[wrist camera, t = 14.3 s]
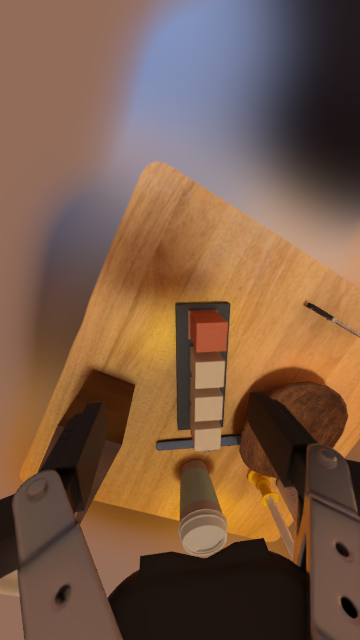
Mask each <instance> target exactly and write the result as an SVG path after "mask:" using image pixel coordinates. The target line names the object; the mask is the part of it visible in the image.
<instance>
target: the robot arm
mask: <svg viewBox="0 0 360 640" xmlns="http://www.w3.org/2000/svg"><path fill="white" fill-rule="evenodd" d="M247 418H248V423H249V425H250V427H251V429H252V431H253V433H254V434H255V436H256V438H257V440H258V441H259V443H260V445H261V447H262V449H263V450H264V452H265V454H266V456H267V457H268V459H269V461H270V463H271V465H272V466H273V468H274V470H275V472H276V473H277V475H278V477H279V479H280V481H281V482H282V484H283V486H284V488H287V487H295V489H296V490H297V492H298V493H297V499H296V521H295V542H294V553H293V560H292V561H290V560H289V559H287V558H285V557H283V556H281V555H279V554H277V553H274V552H271V551H268V549H267V546H266V543H265V540H264V538H261V539H254V540H248V541H240V542H235V543H233V544H231V545H230V546H227V547H226V548H224V549H222V550H221V551H219V552H217V553H215V554H214V555H212V556H210V557H208V558H199V557H195V556H190V555H186V554H181V553H176V552H167V553H159V554H153V555H145V556H140V570H138V571H136V572H134V573H133V574H131V575H130V576H129V577H127V578H126V579H125V580H124V581H123V582H121V584H119V585H118V586H117V587H116V589H115V590H114V591H113V592H112V593H111V594H110V596H109V597H108V598H107V596H106V593H105V590H104V588H103V585H102V582H101V580H100V577H99V574H98V572H97V569H96V566H95V564H94V561H93V558H92V556H91V553H90V550H89V548H88V545H87V542H86V540H85V537H84V534H83V532H82V529H81V527H80V524H79V522H78V520H77V521H76V519H75V516H74V515H75V512H82V511H85V508H86V505H87V502H88V498H89V495H90V491H91V488H92V485H93V481H94V478H95V474H96V471H97V467H98V464H99V461H100V457H101V454H102V450H103V447H104V444H105V440H106V436H107V419H106V411H105V404H104V401H98V402H88V403H87V405H86V407H85V409H84V411H83V413H77V414H75V415H74V416H73V417H72V418H71V419H70V420H69V421H68V422H67V424H66V426H65V428H64V429H63V432H62V433H61V435H60V436H59V438H58V440H57V442H56V443H55V445H54V447H53V449H52V451H51V452H50V454H49V456H48V458H47V459H46V461H45V463H44V465H43V466H42V468H41V470H40V472H39V473H37V474H35V475H33V476H32V477H30V478H29V479H28V480H26V481H25V482H24V483H23V484H22V485H21V486H20V487H19V489H18V490H17V491H16V493H15V494H13V495H11V496H8V497H6V498H3V499H1V500H0V578H2V577H4V576H6V575H8V574H10V573H12V572H14V571H16V570H17V576H18V586H19V595H20V604H21V613H22V621H23V630H24V638H25V640H360V462H356V461H351V460H346V459H345V458H344V457H343V456H342V455H341V454H340V453H338V452H337V451H336V450H334V449H333V448H331V447H329V446H326V445H323V444H319V443H318V442H317V441H316V440H315V439H314V438H313V437H312V436H311V434H310V433H309V432H308V431H307V430H306V429H305V428H304V427H303V425H302V424H301V423H300V422H299V421H298V420H297V419H296V418H295V416H294V415H293V414H291V412H290V411H289V410H288V409H287V407H286V406H285V405H284V404H282V403H281V402H279V401H277V400H276V399H272V398H271V397H270V396H269V395H268V394H267V392H266V391H264V390H261V391H251V392H250V394H249V402H248V411H247Z"/></svg>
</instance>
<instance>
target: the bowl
mask: <svg viewBox="0 0 360 640" xmlns="http://www.w3.org/2000/svg"><path fill="white" fill-rule="evenodd" d="M268 395H269V396H270V397H271V398H272V399H276V400H277V401H279V402H281V403H282V404H284V405H285V406H286V407H287V409H288V410H289V411H290V412H291V414H293V415H294V416H295V418H296V419H297V420H298V421H299V422H300V423H301V424H302V425H303V427H304V428H305V429H306V430H307V431H308V432H309V433H310V434H311V436H312V437H313V438H314V439H315V440H316V441H317V442H318V443H319V444H323V445H326V446H329V447H331V448H333V447H334V446H335V444H336V443H337V441H338V440H339V438H340V437H341V435H342V433H343V430H344V427H345V424H346V421H347V418H348V414H347V408H346V404H345V402H344V400H343V399H342V397H341V396H340V394H338V393H337V392H335V391H334V390H332V389H331V388H329V387H328V386H324V385H320V384H317V383H313V382H297V383H289V384H285V385H283V386H281V387H278V388H276V389H274V390H273V391H271V392H270V393H269V394H268ZM240 454H241V457H242V459H243V462H244V463H245V464H246V465H247V466H248V467H249V468H250V470H252V471H254V472H256V473H259V474H261V475H263V476H268V477H274V478H279V477H278V475H277V473H276V472H275V470H274V468H273V466H272V465H271V463H270V461H269V459H268V457H267V456H266V454H265V452H264V450H263V449H262V447H261V445H260V443H259V441H258V440H257V438H256V436H255V434H254V433H253V431H252V429H251V427H250V425H249V423H248V418H247V419H246V421H245V424H244V426H243V428H242V435H241V443H240Z"/></svg>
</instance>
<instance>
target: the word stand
mask: <svg viewBox="0 0 360 640" xmlns="http://www.w3.org/2000/svg"><path fill="white" fill-rule="evenodd" d="M134 388H135V385H133V384H130V383H128V382H125V381H123V380H120V379H117V378H115V377H112V376H109V375H107V374H104V373H101V372H99V371H96V370H93V371H92V373H91V375H90V376H89V378H88V379H87V381H86V382H85V384H84V385H83V387H82V389H81V390H80V392H79V393H78V395H77V396H76V398H75V399H74V401H73V403H72V404H71V406H70V407H69V409H68V410H67V412H66V413H65V415H64V417H63V418H62V420H61V421H60V423H59V424H58V426H57V428H56V431H55V433H54V435H53V438H52V440H51V442H50V445H49V447H48V449H47V452H46V454H45V456H44V459H43V461H42V463H41V466H40V468H39V470H38V473H39V472H40V470H41V468H42V466H43V465H44V463H45V461H46V459H47V458H48V456H49V454H50V452H51V451H52V449H53V447H54V445H55V443H56V442H57V440H58V438H59V436H60V435H61V433H62V432H63V429H64V428H65V426H66V424H67V422H68V421H69V420H70V419H71V418H72V417H73V416H74V415H75V414H77V413H83V411H84V409H85V407H86V405H87V403H88V402H98V401H104V404H105V411H106V419H107V436H106V440H105V444H104V447H103V450H102V454H101V457H100V461H99V464H98V467H97V471H96V474H95V478H94V481H93V485H92V488H91V491H90V495H89V498H88V502H87V505H86V508H85V511H82V512H75V515H74V516H75V519H76V521H77V520H78V522H79V524H80V523H81V521H82V519H83V517H84V516H85V514H86V512H87V510H88V508H89V506H90V504H91V502H92V501H93V499H94V497H95V495H96V493H97V491H98V489H99V487H100V485H101V484H102V482H103V480H104V478H105V476H106V474H107V472H108V470H109V468H110V467H111V465H112V463H113V461H114V459H115V457H116V455H117V453H118V451H119V450H120V448H121V446H122V442H123V438H124V433H125V429H126V424H127V420H128V415H129V411H130V406H131V402H132V397H133V393H134ZM0 594H6V595H12V596H19V597H20V595H19V586H18V576H17V570H16V571H14V572H12V573H10V574H8V575H6V576H4V577H2V580H1V582H0Z"/></svg>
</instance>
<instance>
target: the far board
mask: <svg viewBox="0 0 360 640" xmlns="http://www.w3.org/2000/svg"><path fill="white" fill-rule="evenodd" d="M202 312H217V313H218V314H219V315H220V316H222V317H223V318H224V319H225V320H226V321H227V322H228V329H227V346H226V351H220V352H198V353H196V351H195V348H194V345H193V343H192V340H191V313H202ZM229 317H230V303H228V302H211V303H176V359H177V425H178V430H188V429H191V434H192V440H193V446H194V451H205V450H217V449H220V442H221V427H223V418H224V401H225V384H226V367H227V350H228V333H229Z"/></svg>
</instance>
